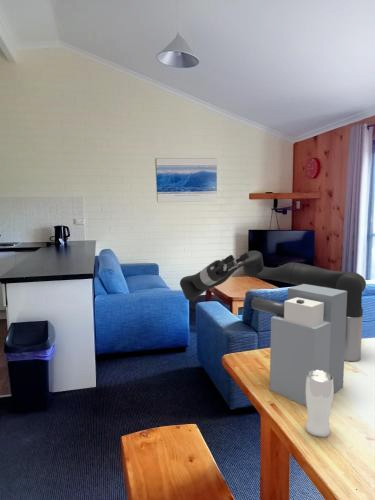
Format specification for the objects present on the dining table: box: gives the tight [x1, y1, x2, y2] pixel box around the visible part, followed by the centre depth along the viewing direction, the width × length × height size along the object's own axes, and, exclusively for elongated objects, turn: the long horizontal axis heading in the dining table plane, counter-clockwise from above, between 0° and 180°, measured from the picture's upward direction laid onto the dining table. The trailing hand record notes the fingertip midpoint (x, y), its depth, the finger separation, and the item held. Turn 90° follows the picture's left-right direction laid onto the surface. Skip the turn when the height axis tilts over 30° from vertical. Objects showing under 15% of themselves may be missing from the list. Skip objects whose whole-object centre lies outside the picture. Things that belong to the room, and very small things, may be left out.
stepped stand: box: [269, 284, 347, 407], centre depth 112 cm, size 19×15×32 cm
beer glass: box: [305, 370, 335, 438], centre depth 92 cm, size 7×7×15 cm
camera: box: [250, 296, 324, 327], centre depth 112 cm, size 7×23×7 cm, turn 41°
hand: (240, 256), depth 130 cm, fingers open, 8 cm apart
